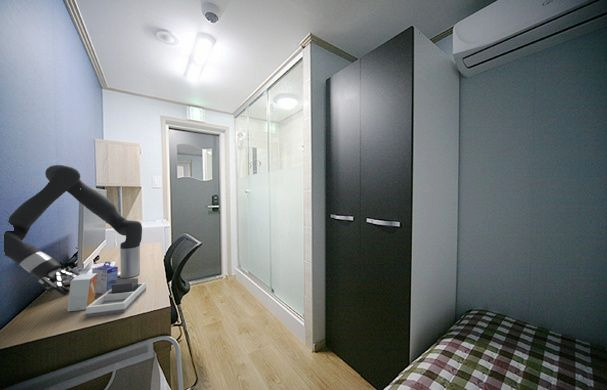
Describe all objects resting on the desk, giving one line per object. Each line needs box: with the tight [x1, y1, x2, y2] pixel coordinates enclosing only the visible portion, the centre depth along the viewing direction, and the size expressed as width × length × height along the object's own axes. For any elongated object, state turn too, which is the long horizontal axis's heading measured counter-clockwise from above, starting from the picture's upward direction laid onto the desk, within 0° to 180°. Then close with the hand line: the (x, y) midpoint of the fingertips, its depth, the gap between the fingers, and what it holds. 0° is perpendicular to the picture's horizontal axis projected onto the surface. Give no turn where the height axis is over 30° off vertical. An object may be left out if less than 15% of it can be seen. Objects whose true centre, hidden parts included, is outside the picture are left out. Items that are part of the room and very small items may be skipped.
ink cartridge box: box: [91, 261, 119, 295], centre depth 108 cm, size 10×6×14 cm, turn 78°
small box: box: [66, 273, 98, 312], centre depth 93 cm, size 8×6×13 cm
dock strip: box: [85, 277, 147, 318], centre depth 97 cm, size 21×13×8 cm, turn 16°
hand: (75, 289), depth 93 cm, fingers closed on small box, 8 cm apart
